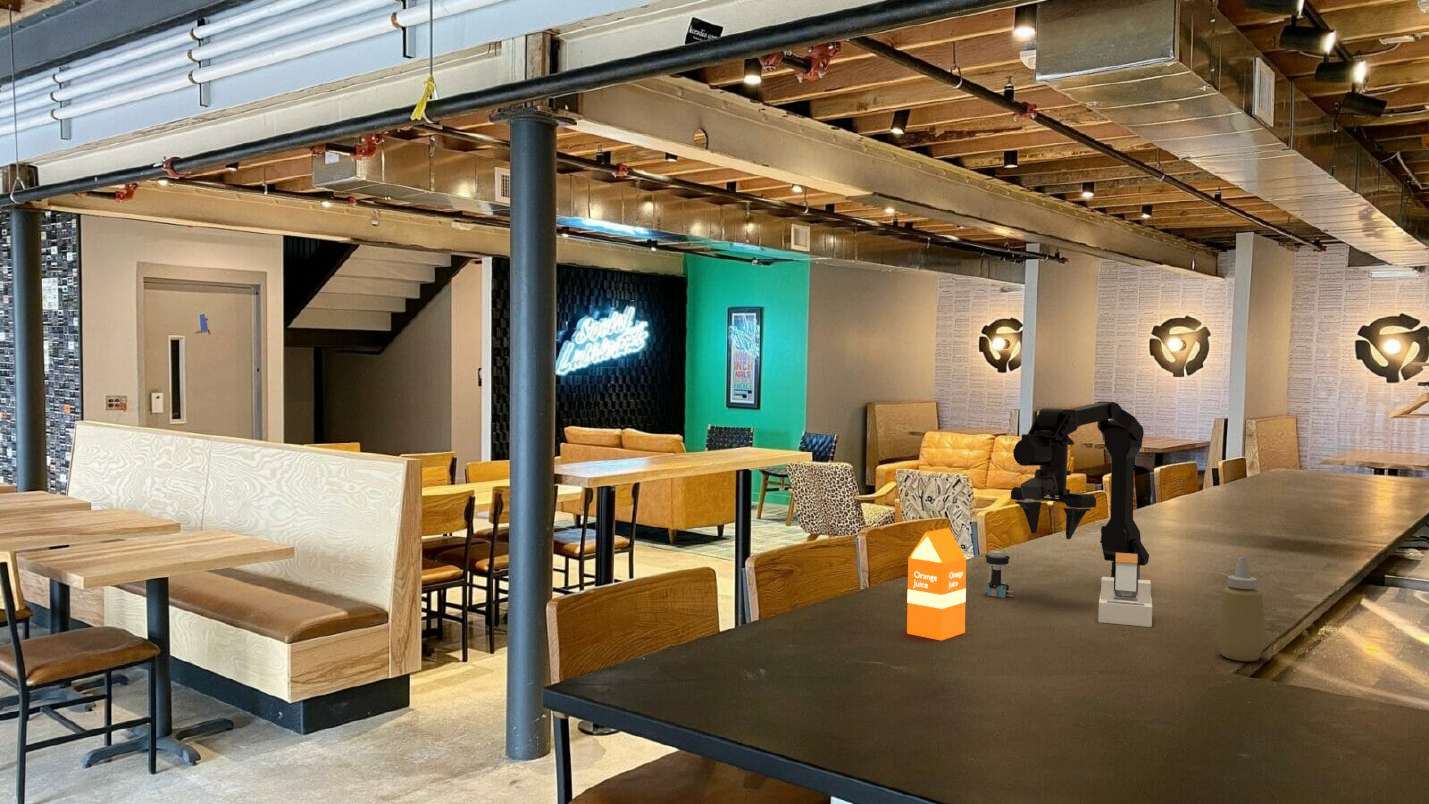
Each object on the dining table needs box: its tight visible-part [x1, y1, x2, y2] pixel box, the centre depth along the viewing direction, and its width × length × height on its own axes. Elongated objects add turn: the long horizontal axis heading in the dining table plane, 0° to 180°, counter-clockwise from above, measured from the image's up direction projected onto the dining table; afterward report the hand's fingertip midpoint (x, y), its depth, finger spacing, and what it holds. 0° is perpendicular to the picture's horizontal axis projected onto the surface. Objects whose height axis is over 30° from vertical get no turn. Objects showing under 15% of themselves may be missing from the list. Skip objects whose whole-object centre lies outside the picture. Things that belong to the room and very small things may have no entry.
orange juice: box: [906, 527, 967, 641], centre depth 203 cm, size 8×9×20 cm
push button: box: [984, 550, 1015, 599], centre depth 238 cm, size 7×5×10 cm
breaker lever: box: [1114, 553, 1138, 598], centre depth 218 cm, size 3×4×9 cm
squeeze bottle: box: [1215, 556, 1267, 662], centre depth 187 cm, size 8×8×18 cm
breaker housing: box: [1098, 576, 1153, 628], centre depth 217 cm, size 11×10×8 cm
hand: (1050, 536), depth 232 cm, fingers open, 9 cm apart
